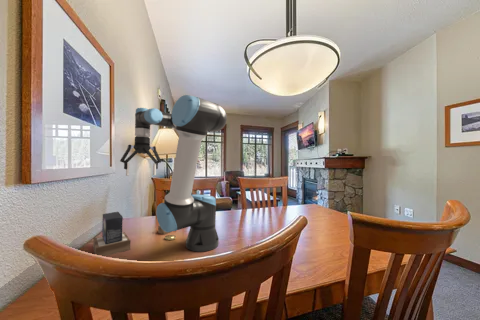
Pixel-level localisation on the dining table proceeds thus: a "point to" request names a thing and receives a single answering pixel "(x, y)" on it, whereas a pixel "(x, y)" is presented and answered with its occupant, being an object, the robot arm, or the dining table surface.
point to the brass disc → (170, 237)
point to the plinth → (111, 246)
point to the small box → (112, 227)
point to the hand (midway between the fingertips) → (141, 175)
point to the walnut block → (162, 231)
